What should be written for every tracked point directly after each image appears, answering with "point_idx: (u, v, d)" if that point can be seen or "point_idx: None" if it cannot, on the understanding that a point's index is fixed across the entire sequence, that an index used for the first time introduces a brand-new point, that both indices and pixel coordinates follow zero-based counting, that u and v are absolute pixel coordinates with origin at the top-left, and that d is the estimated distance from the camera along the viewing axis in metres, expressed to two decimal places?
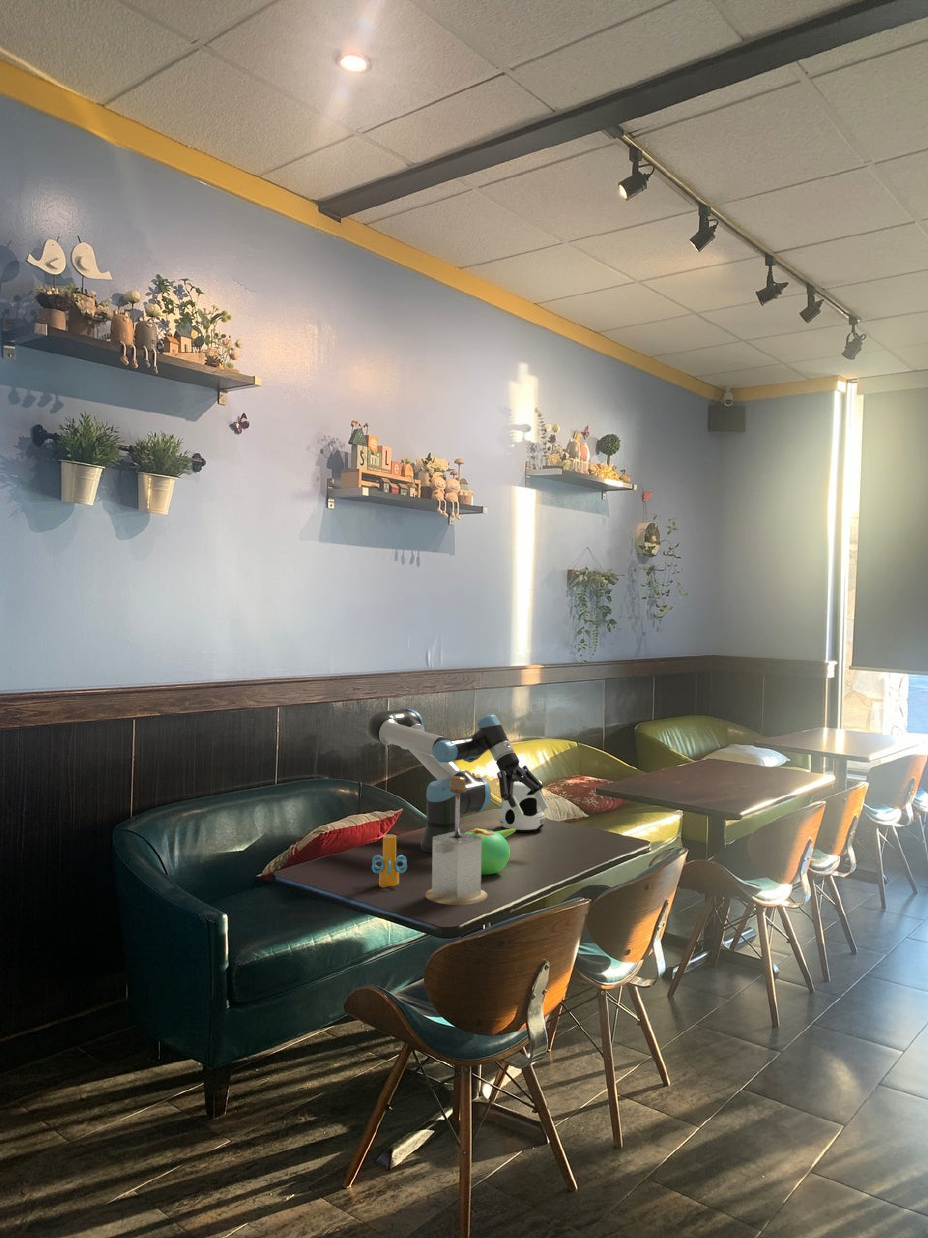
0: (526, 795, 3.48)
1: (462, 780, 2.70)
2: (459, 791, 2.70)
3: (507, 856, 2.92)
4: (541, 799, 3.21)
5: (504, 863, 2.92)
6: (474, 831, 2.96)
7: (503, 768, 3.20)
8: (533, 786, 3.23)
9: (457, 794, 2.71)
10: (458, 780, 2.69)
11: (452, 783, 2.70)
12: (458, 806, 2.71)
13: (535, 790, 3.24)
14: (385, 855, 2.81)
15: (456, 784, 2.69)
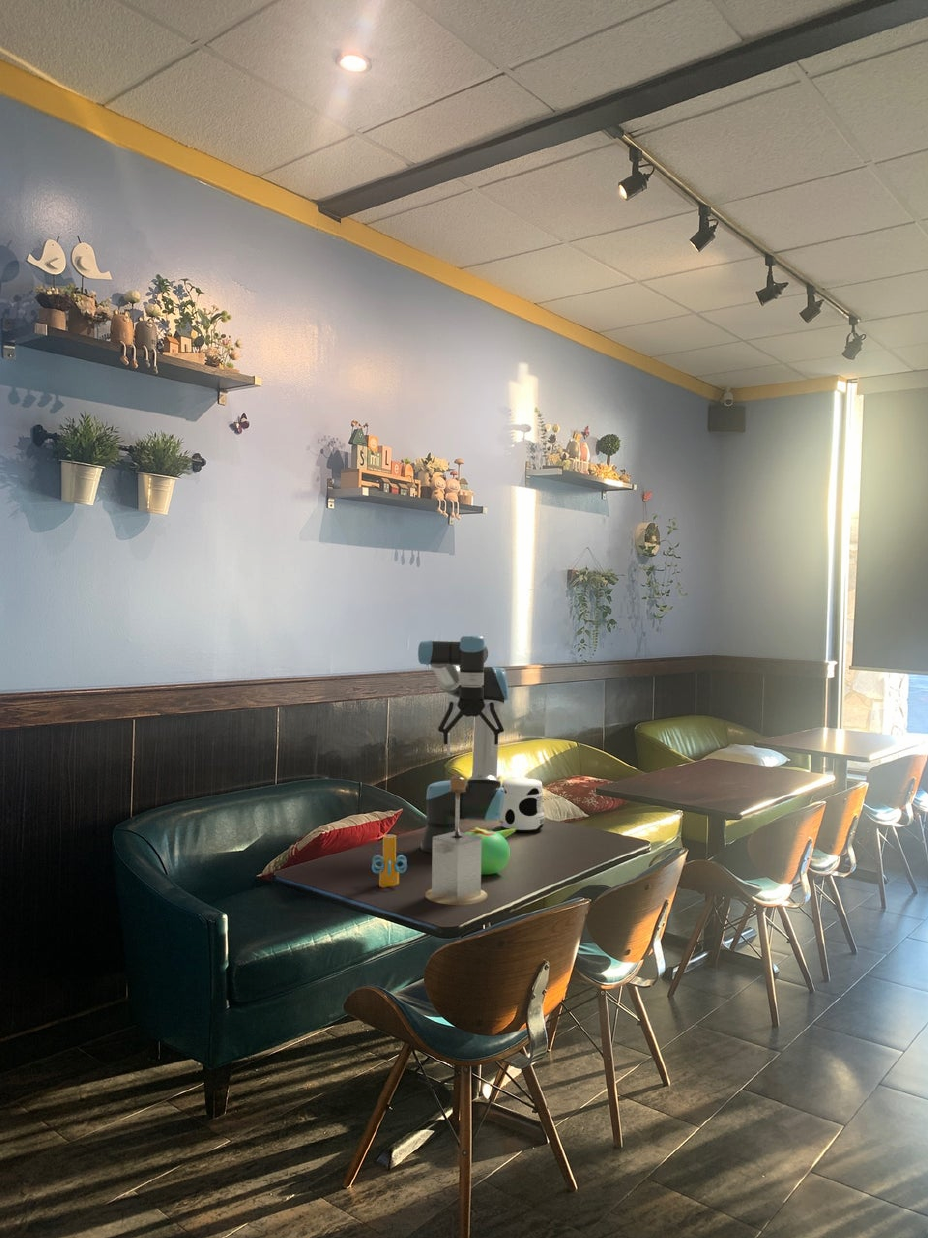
0: (526, 795, 3.48)
1: (462, 780, 2.70)
2: (459, 791, 2.70)
3: (507, 856, 2.92)
4: (491, 744, 2.89)
5: (504, 863, 2.92)
6: (474, 831, 2.96)
7: (459, 699, 2.89)
8: (489, 727, 2.89)
9: (457, 794, 2.71)
10: (458, 780, 2.69)
11: (452, 783, 2.70)
12: (458, 806, 2.71)
13: None
14: (385, 855, 2.81)
15: (456, 784, 2.69)
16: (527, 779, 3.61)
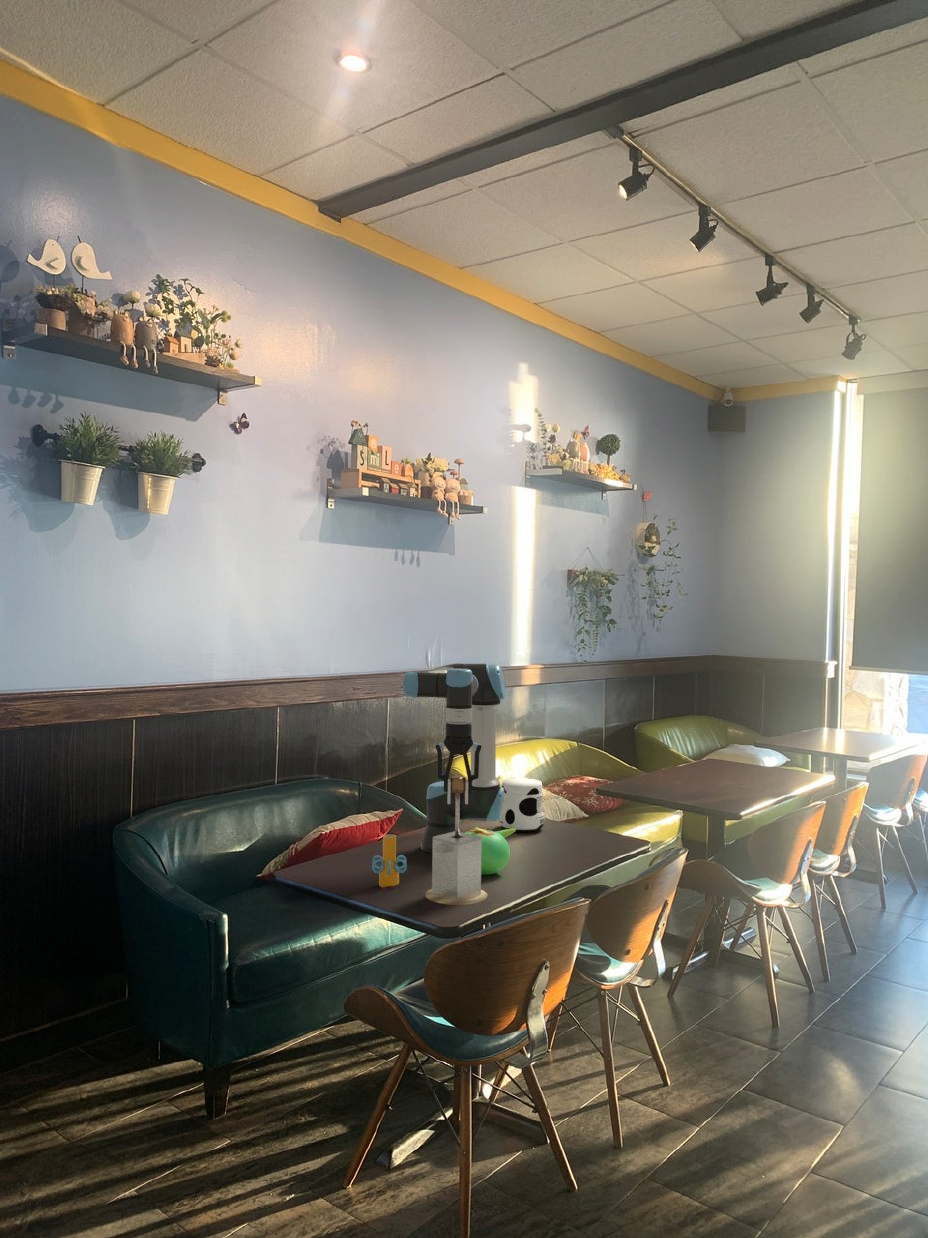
0: (526, 795, 3.48)
1: (462, 780, 2.70)
2: (459, 791, 2.70)
3: (507, 856, 2.92)
4: (465, 791, 2.71)
5: (504, 863, 2.92)
6: (474, 831, 2.96)
7: None
8: (466, 771, 2.71)
9: (457, 794, 2.71)
10: (458, 780, 2.69)
11: (452, 783, 2.70)
12: (458, 806, 2.71)
13: None
14: (385, 855, 2.81)
15: (456, 784, 2.69)
16: (527, 779, 3.61)
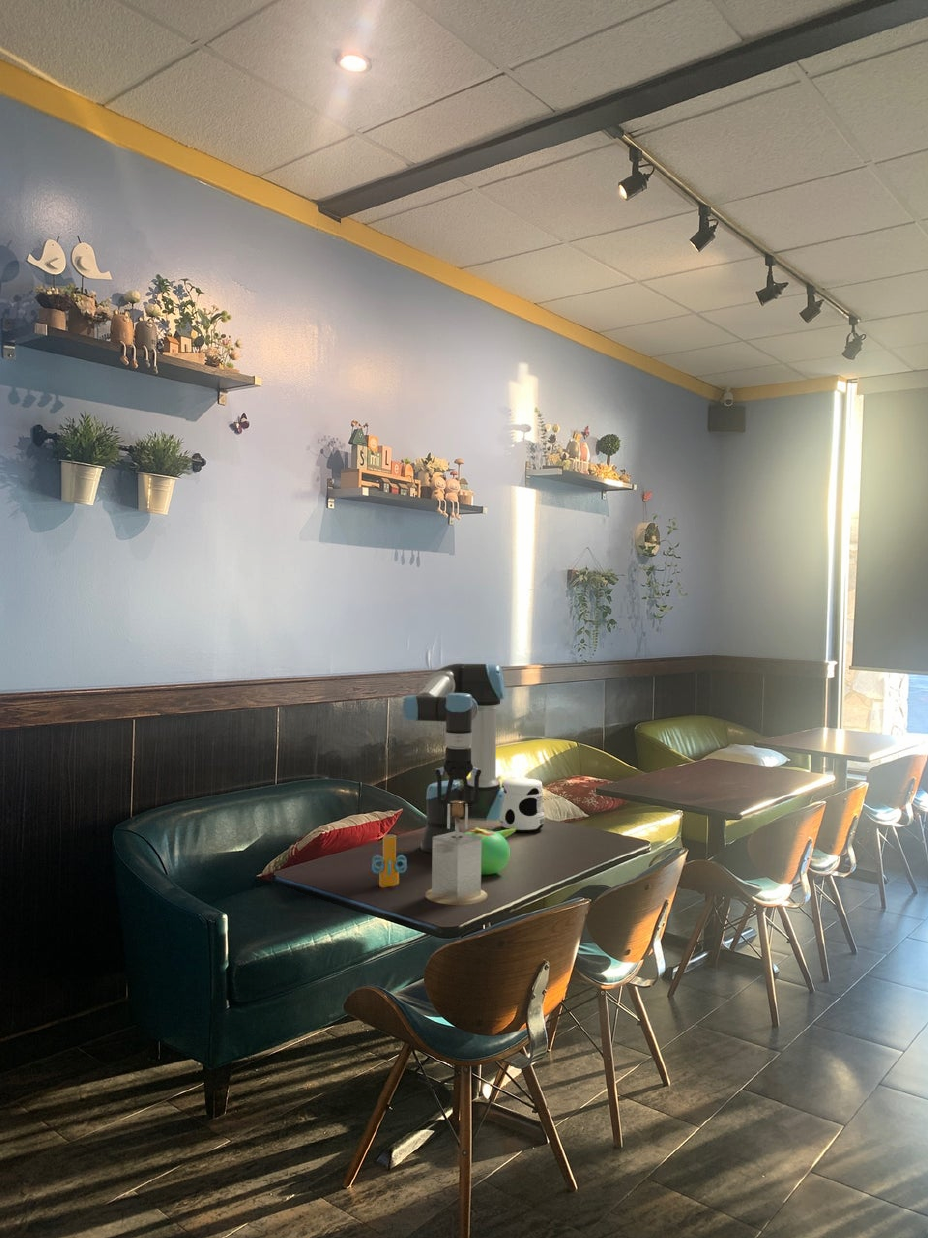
0: (526, 795, 3.48)
1: (462, 805, 2.70)
2: (459, 816, 2.70)
3: (507, 856, 2.92)
4: (465, 816, 2.71)
5: (504, 863, 2.92)
6: (474, 831, 2.96)
7: None
8: (466, 796, 2.71)
9: (457, 819, 2.71)
10: (458, 805, 2.70)
11: (452, 808, 2.70)
12: (458, 831, 2.71)
13: None
14: (385, 855, 2.81)
15: (456, 809, 2.70)
16: (527, 779, 3.61)
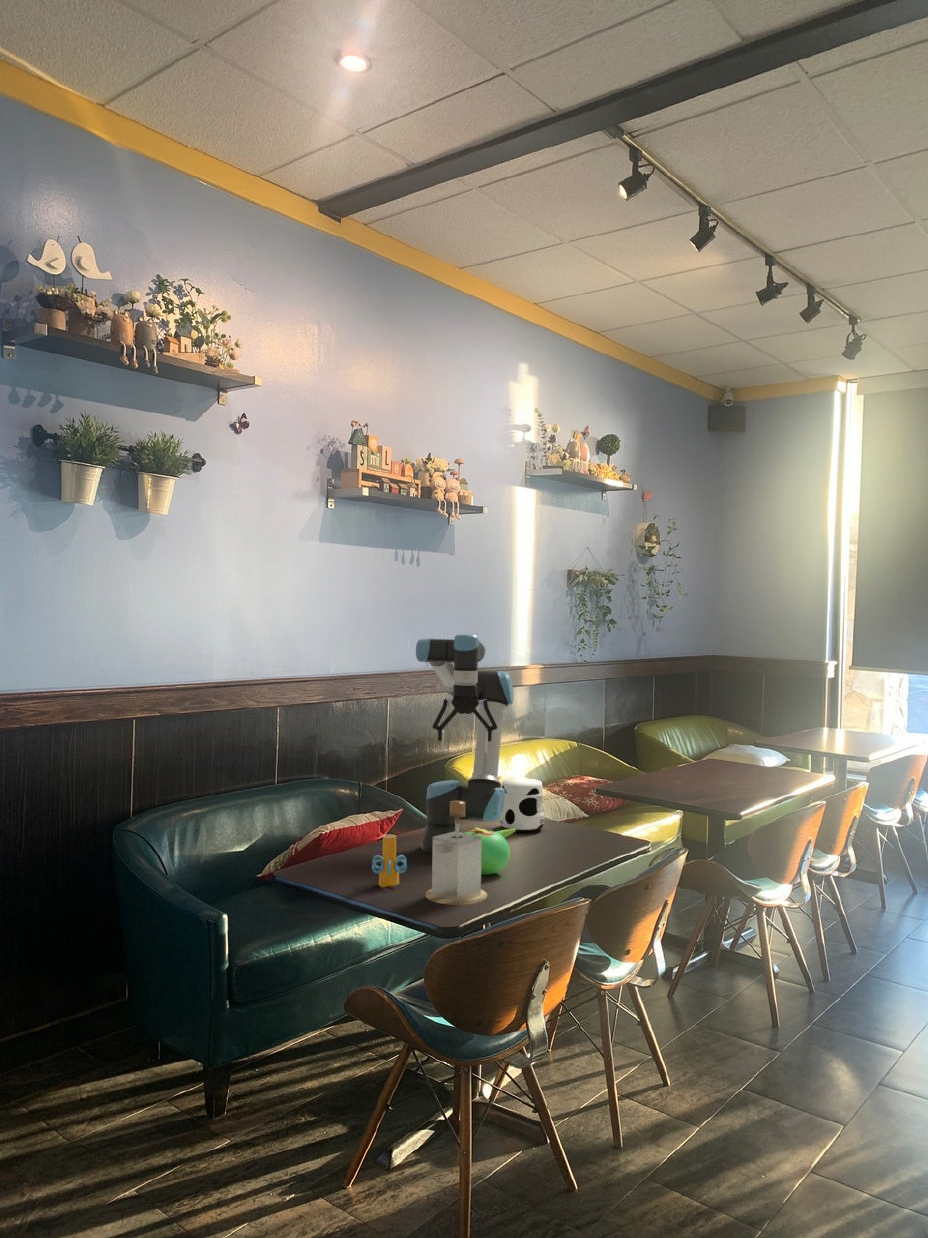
0: (526, 795, 3.48)
1: (462, 805, 2.70)
2: (459, 816, 2.70)
3: (507, 856, 2.92)
4: (485, 741, 2.94)
5: (504, 863, 2.92)
6: (474, 831, 2.96)
7: (453, 696, 2.94)
8: (483, 724, 2.94)
9: (457, 819, 2.71)
10: (458, 805, 2.70)
11: (452, 808, 2.70)
12: (458, 831, 2.71)
13: None
14: (385, 855, 2.81)
15: (456, 809, 2.70)
16: (527, 779, 3.61)
